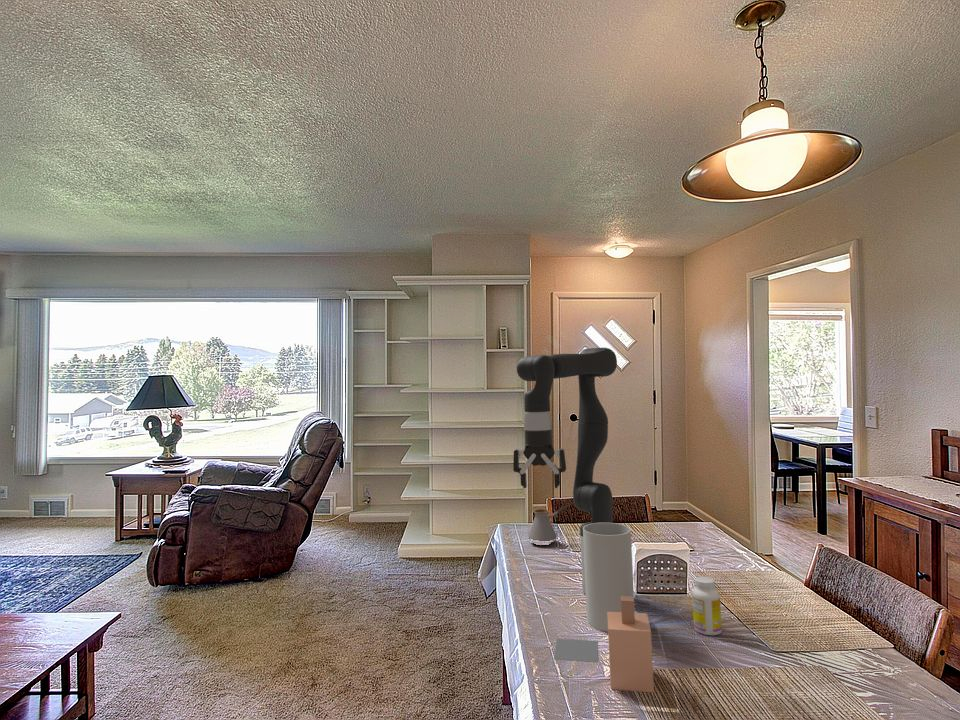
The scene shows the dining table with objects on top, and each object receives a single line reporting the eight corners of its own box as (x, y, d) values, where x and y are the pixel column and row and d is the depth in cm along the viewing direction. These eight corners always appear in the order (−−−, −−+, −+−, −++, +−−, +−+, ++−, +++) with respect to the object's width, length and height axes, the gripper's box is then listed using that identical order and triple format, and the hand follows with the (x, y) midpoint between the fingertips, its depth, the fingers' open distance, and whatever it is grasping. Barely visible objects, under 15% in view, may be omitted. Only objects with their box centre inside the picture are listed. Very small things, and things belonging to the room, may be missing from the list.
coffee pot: (535, 549, 205) (533, 510, 206) (523, 541, 216) (522, 504, 217) (584, 542, 212) (582, 504, 213) (570, 534, 223) (569, 498, 224)
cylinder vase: (608, 639, 133) (604, 538, 134) (577, 620, 144) (573, 527, 145) (645, 627, 138) (640, 530, 139) (612, 609, 149) (608, 520, 151)
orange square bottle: (649, 672, 117) (645, 591, 118) (654, 695, 109) (649, 608, 109) (609, 669, 119) (606, 589, 120) (611, 691, 110) (607, 605, 111)
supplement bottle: (720, 626, 137) (718, 575, 138) (723, 638, 131) (720, 585, 132) (693, 623, 140) (690, 573, 140) (694, 634, 133) (691, 583, 134)
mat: (597, 643, 131) (597, 641, 131) (598, 664, 121) (598, 662, 121) (556, 640, 133) (556, 638, 133) (554, 661, 123) (554, 659, 123)
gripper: (564, 426, 148) (567, 485, 147) (514, 427, 151) (516, 484, 150) (563, 428, 140) (566, 490, 140) (510, 429, 143) (512, 490, 143)
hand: (540, 487), depth 145 cm, fingers open, 8 cm apart
